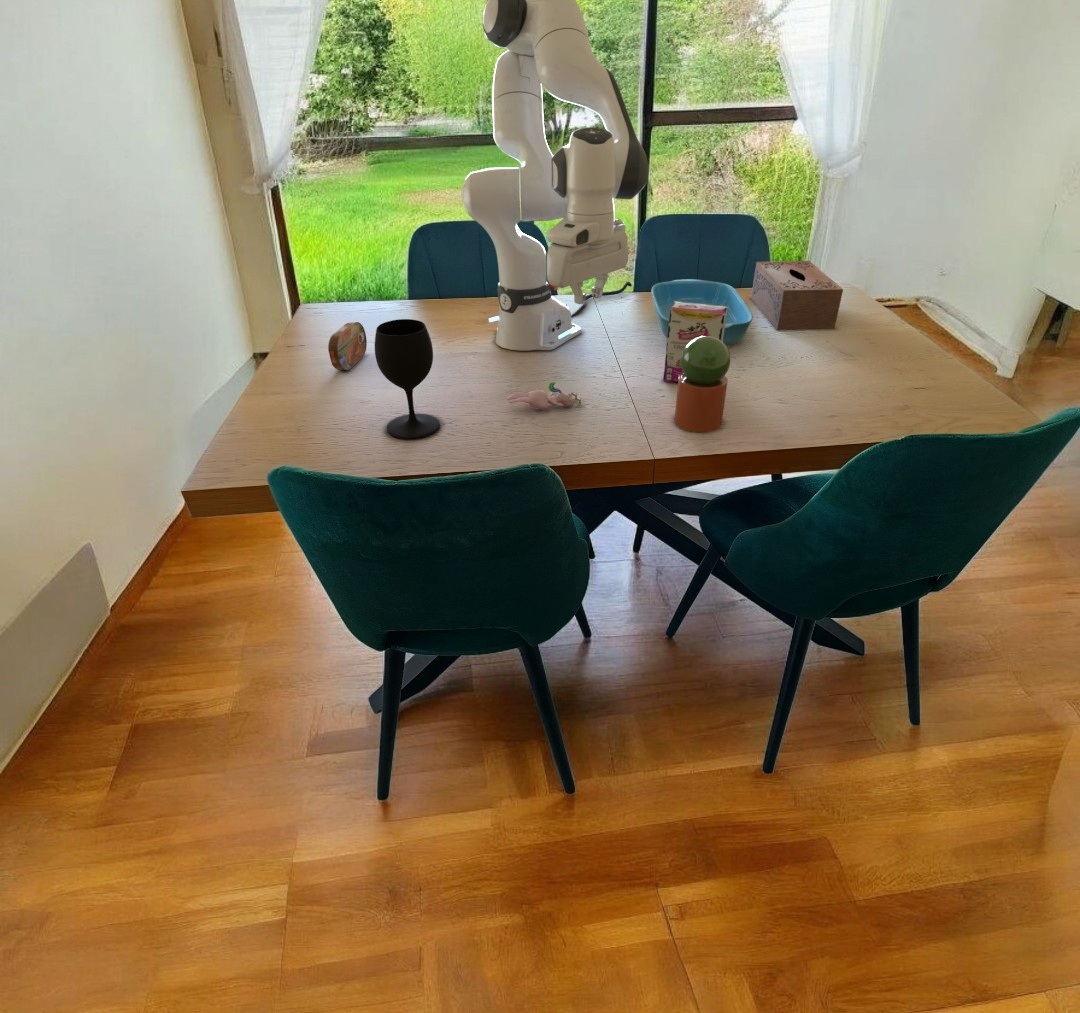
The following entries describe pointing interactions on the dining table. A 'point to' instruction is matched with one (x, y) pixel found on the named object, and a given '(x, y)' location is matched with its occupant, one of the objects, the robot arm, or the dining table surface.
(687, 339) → the candy bar box
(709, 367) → the potted herb
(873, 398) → the dining table surface
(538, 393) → the rabbit figure
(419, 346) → the wine glass
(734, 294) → the casserole dish
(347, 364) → the tin
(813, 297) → the tissue box cover
